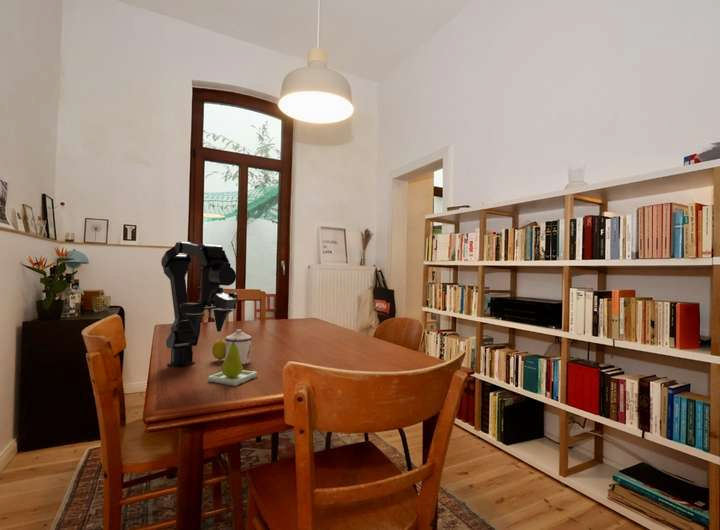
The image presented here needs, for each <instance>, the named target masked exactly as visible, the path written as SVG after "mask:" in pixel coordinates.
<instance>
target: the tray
mask: <svg viewBox="0 0 720 530" xmlns="http://www.w3.org/2000/svg"><path fill="white" fill-rule="evenodd" d="M257 377H258V372H257V371H253V370H252V371H251V370H244V369H242V372H241V373H240V374H239V375H238V376H237V377H234V378H228V377H226V376H225V375H224V374H223V372H222V371H219V372H218V373H215V374H211V375H209V376H208V377H207V378H208V379H207V380H208V382H210V383H215V384H216V383H217V384H222V385H226V386H233V387H235V386H239V385H242V384H244V383H246V382H248V380H249V381H250V379H251V380H253V379H256V378H257ZM252 378H253V379H252ZM241 383H242V384H241Z"/></svg>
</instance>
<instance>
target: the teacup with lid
mask: <svg viewBox="0 0 720 530" xmlns="http://www.w3.org/2000/svg"><path fill="white" fill-rule="evenodd" d="M235 338H236V340H235ZM224 340H225V341H226V356H225V358H224V361H225V360H226V358H227V356H228V354H229V350H230V347H231V344H232V343H233V341H234V340H235V342H234V344H235V345H236V346H237V348H238V351H239V356H240V360H241V362H242V364H243V365H247V364H249V363H250V362H251V359H252V356H251V354H252V353H251V352H252V340H253V337H252V336H251V335H248V334H247V333H245V332H243V331H242V329H236V330H235V332H234V333H231V334H230V335H227V336H226V337H225V338H224ZM246 363H247V364H246Z"/></svg>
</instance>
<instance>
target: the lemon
mask: <svg viewBox="0 0 720 530" xmlns="http://www.w3.org/2000/svg"><path fill="white" fill-rule="evenodd" d="M211 351H212V352H211V353H212V356H213V357H214V359H217V360H218V361H222V360H223V359H225V356H226V340H225V339H222V338H219V339H218V340H215V342H214V343H213V346H212V350H211Z"/></svg>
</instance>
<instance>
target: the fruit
mask: <svg viewBox="0 0 720 530" xmlns="http://www.w3.org/2000/svg"><path fill="white" fill-rule="evenodd" d="M235 340H236V338H235ZM235 340H234V341H233V343H232V344H231V347H230V350H229V354H228V356H227V358H226V360H225V359H224V361H223V362H222V364H221V372H223V374H224V375H225V376H226V377H228V378H234V377H237V376H238V375H239V374H240V373H241V372H242V370H244V368H243V367H244V366H243V365H244V364H243V365H242V362H241V360H240V356H239V351H238V348H237V346H236V345H235V344H234V342H235Z"/></svg>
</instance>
